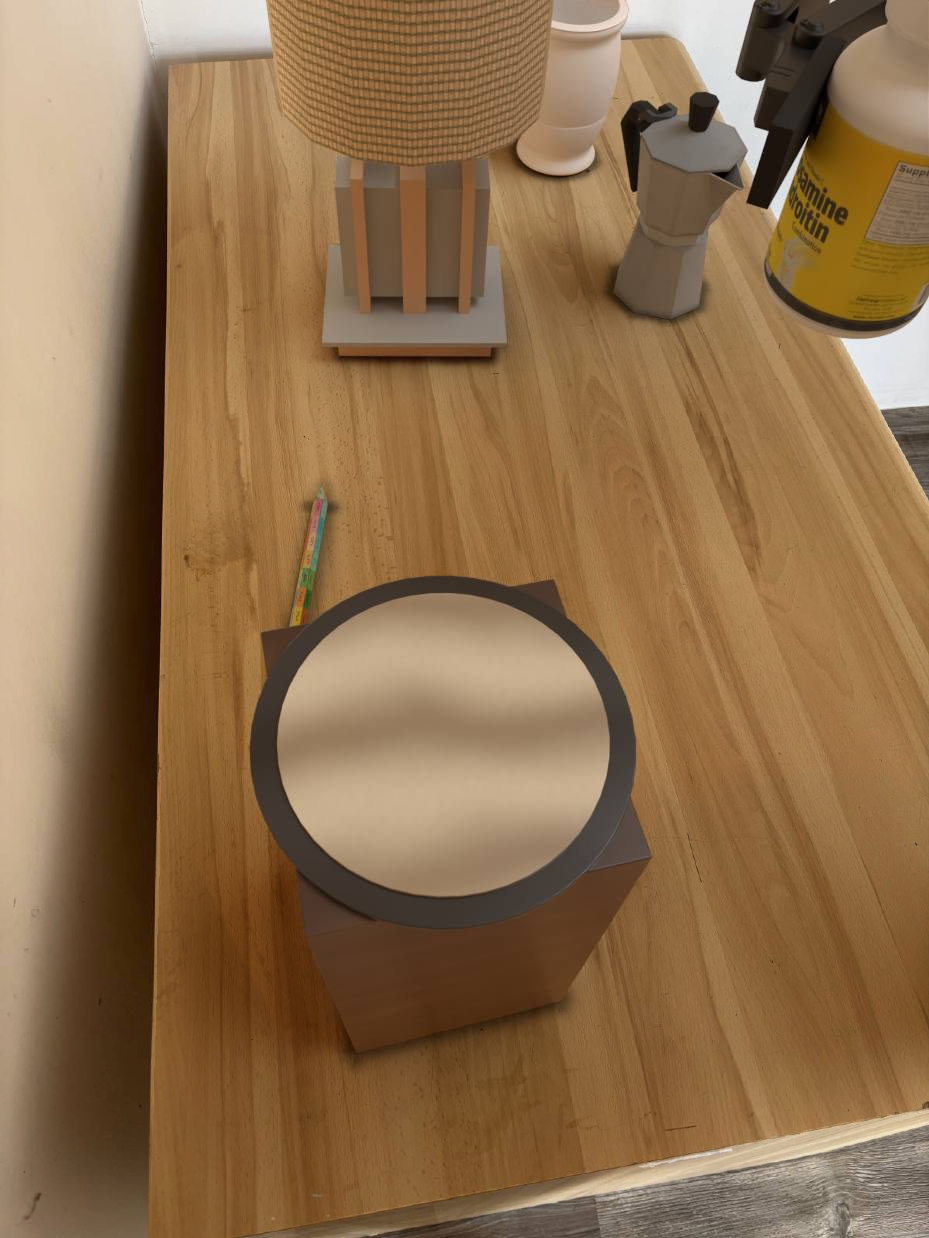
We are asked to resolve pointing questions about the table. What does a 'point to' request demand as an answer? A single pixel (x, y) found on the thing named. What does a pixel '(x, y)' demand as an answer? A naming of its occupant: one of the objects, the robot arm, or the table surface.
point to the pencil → (309, 559)
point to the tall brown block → (447, 799)
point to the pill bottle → (862, 190)
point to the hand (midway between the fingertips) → (878, 201)
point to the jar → (575, 85)
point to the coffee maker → (674, 200)
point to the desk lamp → (412, 157)
